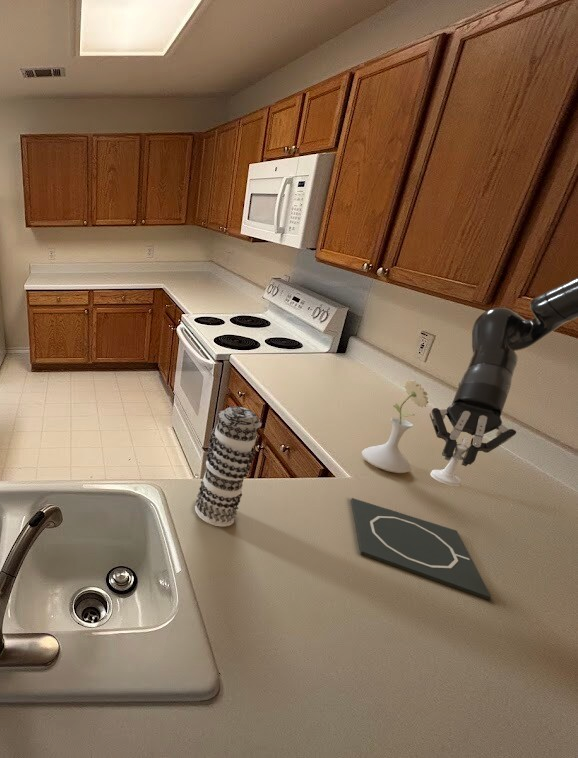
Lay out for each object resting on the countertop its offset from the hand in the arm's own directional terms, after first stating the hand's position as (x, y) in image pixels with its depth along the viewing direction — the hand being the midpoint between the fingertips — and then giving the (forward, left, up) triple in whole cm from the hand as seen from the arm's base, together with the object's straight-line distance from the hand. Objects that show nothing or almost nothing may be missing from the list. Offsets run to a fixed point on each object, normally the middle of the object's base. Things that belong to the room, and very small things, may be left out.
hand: (456, 461), depth 82 cm
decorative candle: (+40, +19, -19) cm, 49 cm away
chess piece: (0, -2, -6) cm, 6 cm away
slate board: (+2, +5, -19) cm, 20 cm away
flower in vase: (+2, -31, -19) cm, 37 cm away
